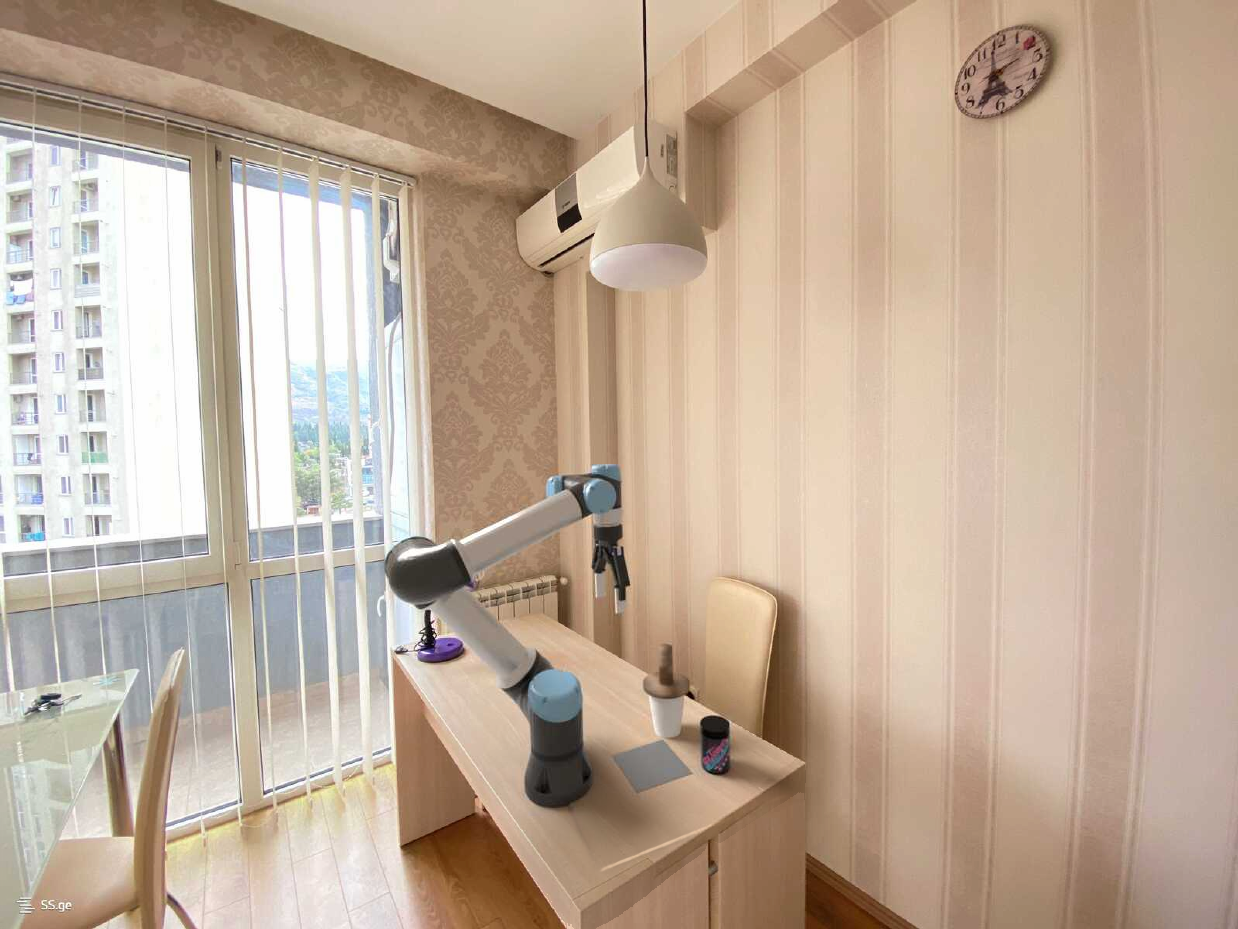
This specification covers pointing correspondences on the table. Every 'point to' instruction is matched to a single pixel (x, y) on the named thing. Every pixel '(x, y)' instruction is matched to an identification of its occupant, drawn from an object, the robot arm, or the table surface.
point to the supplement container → (715, 744)
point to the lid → (666, 678)
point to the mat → (651, 765)
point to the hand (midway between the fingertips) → (610, 604)
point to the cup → (667, 716)
